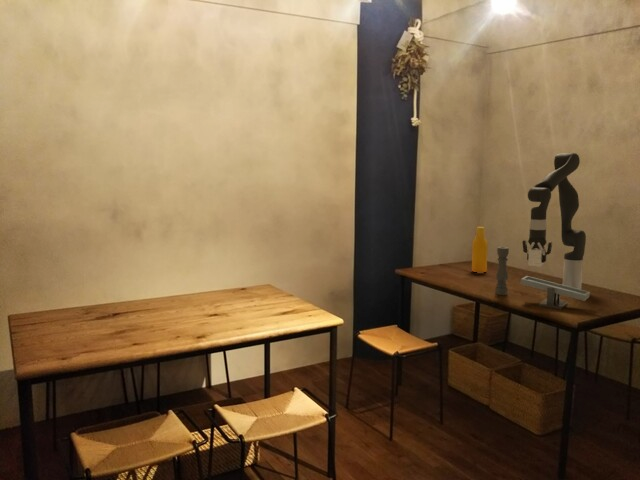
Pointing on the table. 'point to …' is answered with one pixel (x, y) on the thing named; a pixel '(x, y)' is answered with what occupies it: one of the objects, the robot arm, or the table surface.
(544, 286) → the beam
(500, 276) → the candle holder
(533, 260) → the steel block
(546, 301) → the pivot stand
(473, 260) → the beer bottle
